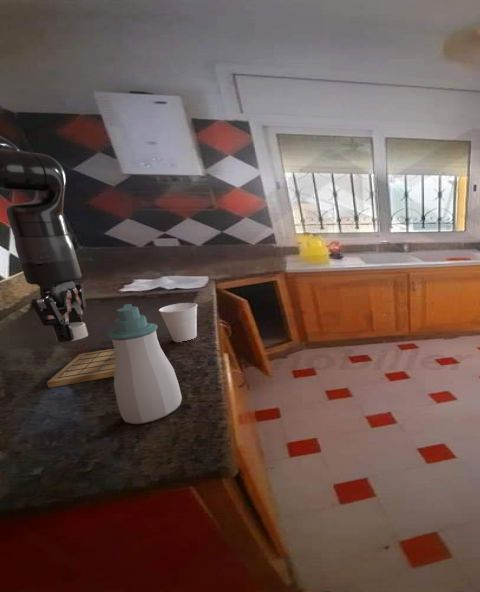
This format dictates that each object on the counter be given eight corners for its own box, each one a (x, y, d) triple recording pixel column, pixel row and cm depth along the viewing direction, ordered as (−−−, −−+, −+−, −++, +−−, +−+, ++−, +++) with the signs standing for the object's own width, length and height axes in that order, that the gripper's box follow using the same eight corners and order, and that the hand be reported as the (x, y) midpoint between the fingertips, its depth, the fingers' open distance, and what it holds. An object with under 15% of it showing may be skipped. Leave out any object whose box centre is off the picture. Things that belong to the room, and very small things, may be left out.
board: (48, 388, 75) (46, 381, 74) (81, 358, 89) (79, 353, 89) (140, 371, 82) (139, 366, 82) (157, 347, 97) (156, 342, 96)
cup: (171, 335, 105) (164, 304, 102) (206, 331, 109) (200, 301, 106) (161, 347, 97) (153, 313, 94) (199, 342, 100) (193, 309, 97)
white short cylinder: (52, 343, 65) (48, 330, 64) (64, 335, 69) (60, 323, 68) (82, 339, 67) (79, 327, 66) (92, 332, 71) (89, 320, 70)
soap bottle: (179, 392, 73) (158, 298, 67) (185, 412, 66) (162, 309, 60) (122, 409, 67) (93, 308, 61) (122, 433, 60) (89, 321, 54)
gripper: (43, 254, 68) (66, 328, 72) (-5, 265, 56) (26, 353, 60) (90, 252, 71) (109, 323, 76) (55, 262, 59) (80, 346, 63)
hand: (72, 336), depth 68 cm, fingers closed on white short cylinder, 4 cm apart
